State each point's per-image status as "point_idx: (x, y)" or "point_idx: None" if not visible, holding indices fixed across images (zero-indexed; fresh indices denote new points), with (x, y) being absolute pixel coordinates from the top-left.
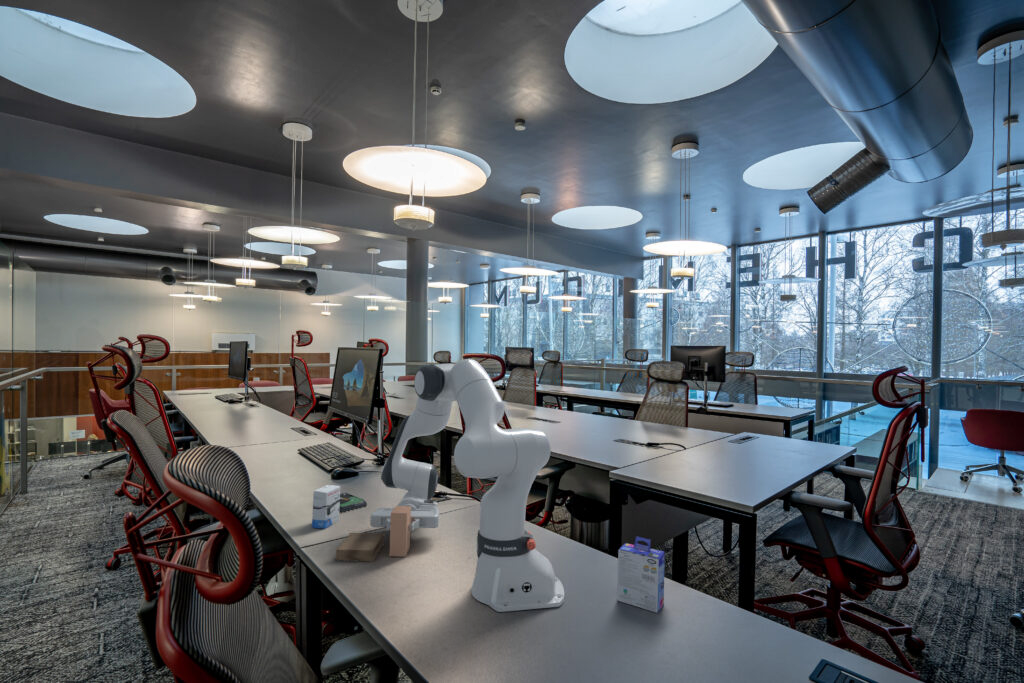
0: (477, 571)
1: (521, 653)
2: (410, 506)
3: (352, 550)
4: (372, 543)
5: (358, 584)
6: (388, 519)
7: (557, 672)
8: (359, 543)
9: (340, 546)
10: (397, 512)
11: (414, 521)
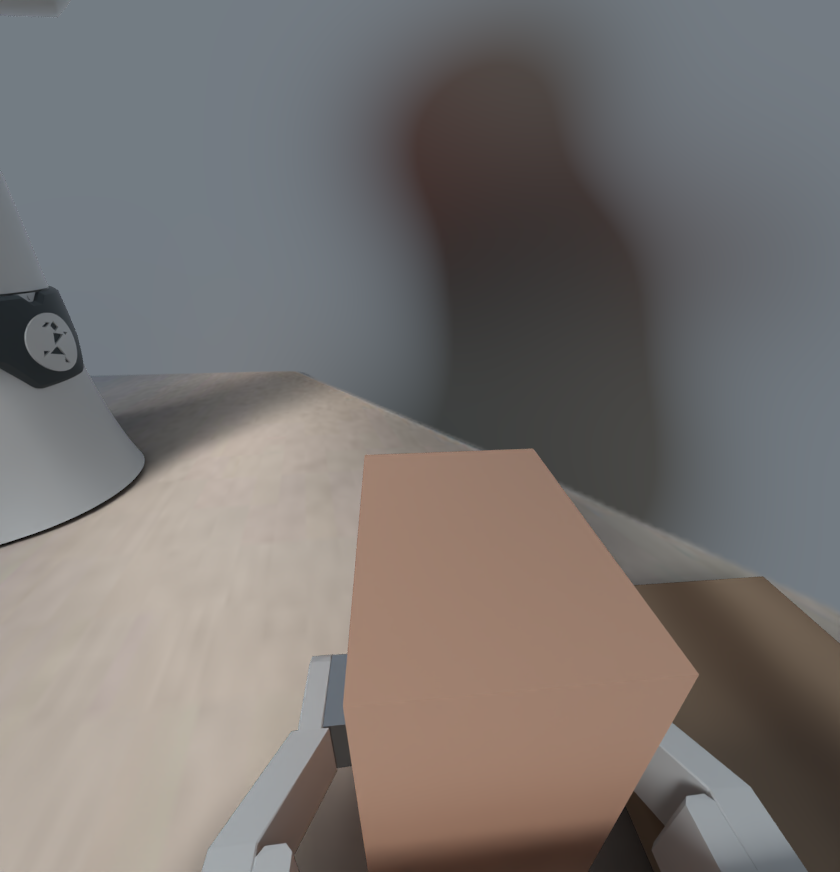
0: (103, 409)
1: (146, 387)
2: (359, 694)
3: (676, 585)
4: None
5: None
6: (723, 789)
7: (120, 376)
8: (744, 676)
9: (798, 615)
10: (474, 461)
11: (297, 773)
